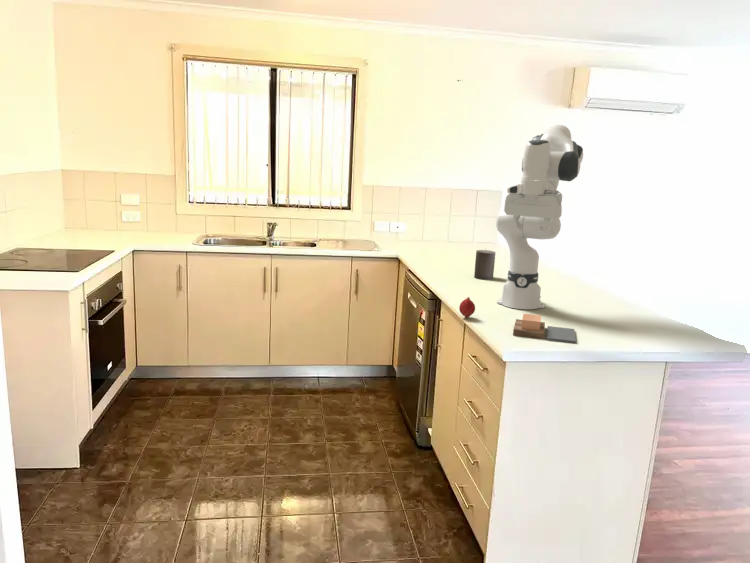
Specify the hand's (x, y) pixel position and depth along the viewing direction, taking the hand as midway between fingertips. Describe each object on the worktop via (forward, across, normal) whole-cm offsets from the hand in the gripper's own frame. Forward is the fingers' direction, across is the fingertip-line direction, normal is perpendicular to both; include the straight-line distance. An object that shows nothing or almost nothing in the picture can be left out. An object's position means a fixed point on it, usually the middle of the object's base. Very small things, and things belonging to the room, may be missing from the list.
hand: (530, 230), depth 192 cm
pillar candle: (+34, +63, -64) cm, 96 cm away
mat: (+35, -13, -3) cm, 37 cm away
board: (+35, -4, +1) cm, 35 cm away
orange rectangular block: (+33, -4, +1) cm, 33 cm away
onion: (+35, +21, +5) cm, 41 cm away
